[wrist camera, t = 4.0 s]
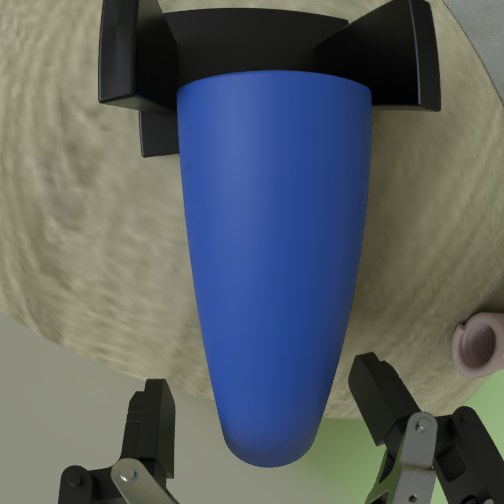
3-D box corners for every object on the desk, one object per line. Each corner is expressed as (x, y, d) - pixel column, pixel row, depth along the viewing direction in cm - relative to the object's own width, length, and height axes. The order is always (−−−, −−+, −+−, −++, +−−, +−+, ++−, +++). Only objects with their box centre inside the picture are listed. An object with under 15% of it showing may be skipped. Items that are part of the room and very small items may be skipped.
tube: (186, 100, 6) (159, 75, 3) (327, 100, 6) (412, 89, 3) (220, 399, 11) (227, 473, 8) (303, 388, 11) (326, 457, 8)
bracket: (144, 25, 7) (80, -59, 1) (337, 26, 8) (442, -29, 2) (148, 155, 9) (66, 198, 4) (341, 147, 10) (460, 183, 4)
